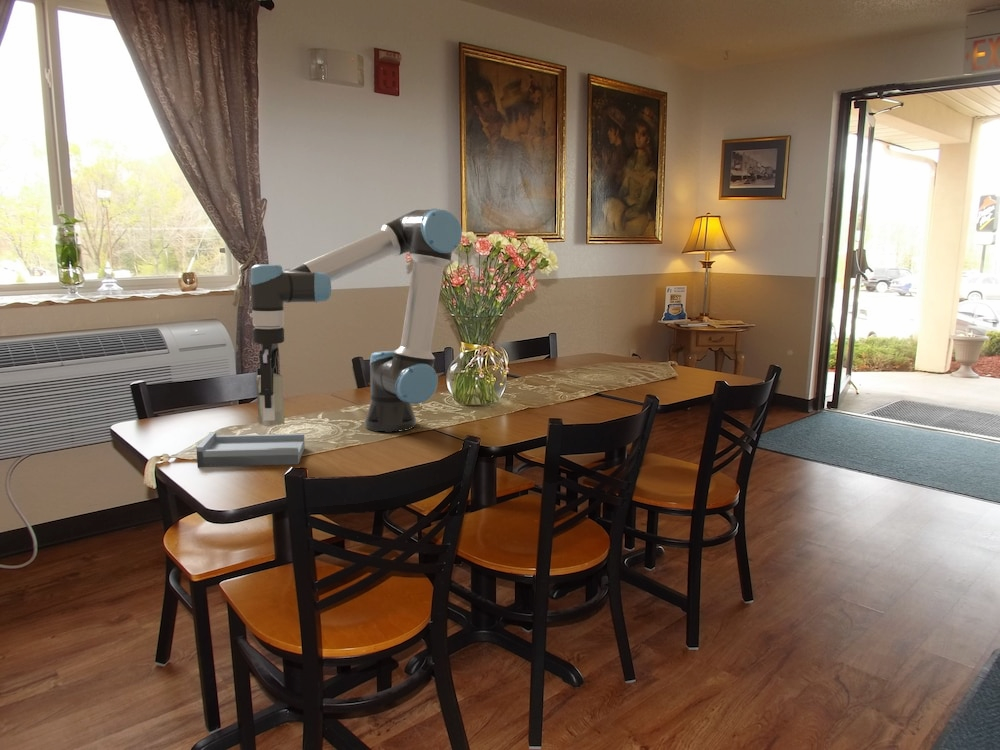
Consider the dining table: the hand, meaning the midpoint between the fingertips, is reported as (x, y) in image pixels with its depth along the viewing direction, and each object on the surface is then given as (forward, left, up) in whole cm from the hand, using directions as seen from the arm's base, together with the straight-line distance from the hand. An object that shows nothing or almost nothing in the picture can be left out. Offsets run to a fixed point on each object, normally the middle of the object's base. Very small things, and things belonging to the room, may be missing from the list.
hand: (271, 416), depth 183 cm
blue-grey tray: (+5, 0, -11) cm, 12 cm away
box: (0, 0, -2) cm, 2 cm away
